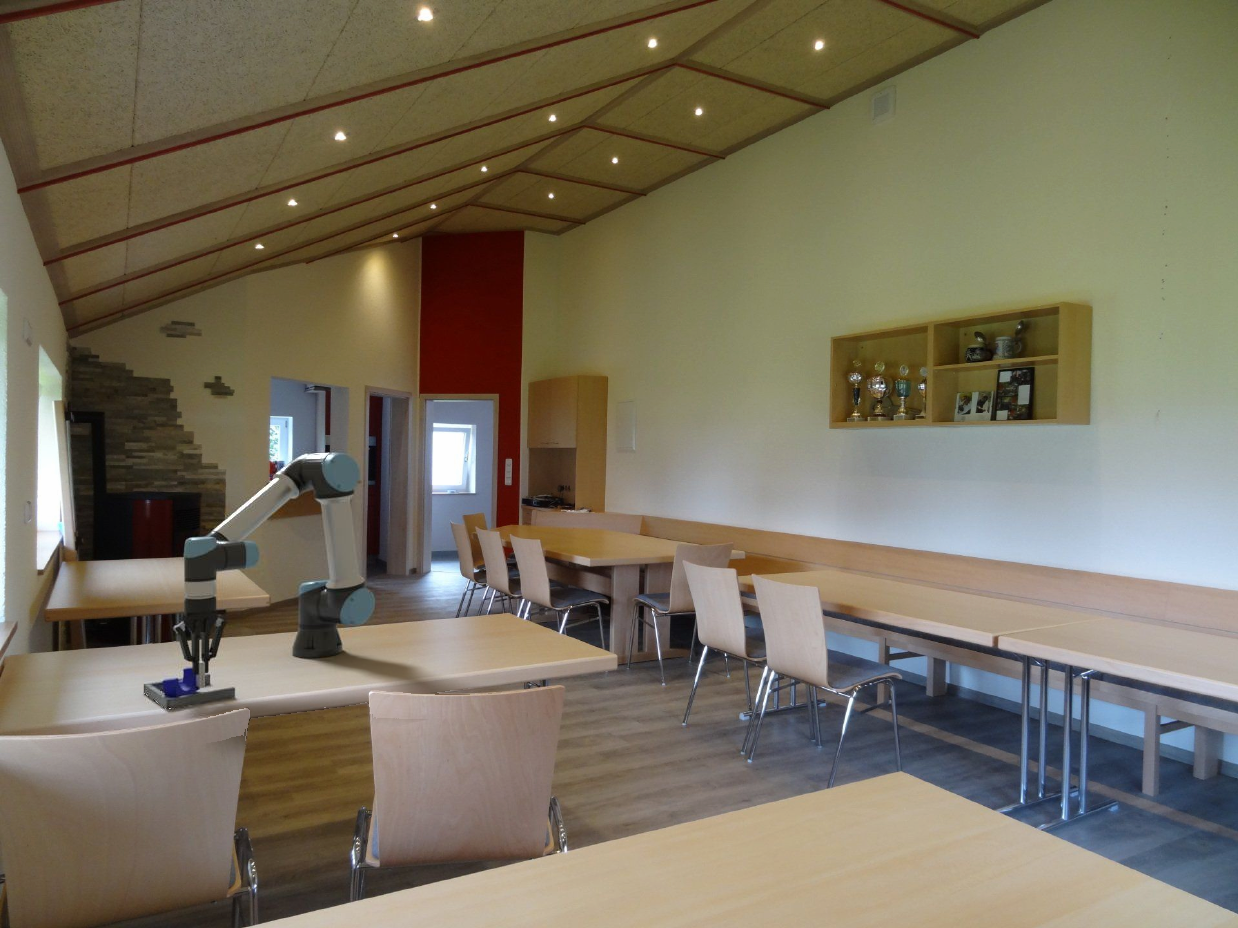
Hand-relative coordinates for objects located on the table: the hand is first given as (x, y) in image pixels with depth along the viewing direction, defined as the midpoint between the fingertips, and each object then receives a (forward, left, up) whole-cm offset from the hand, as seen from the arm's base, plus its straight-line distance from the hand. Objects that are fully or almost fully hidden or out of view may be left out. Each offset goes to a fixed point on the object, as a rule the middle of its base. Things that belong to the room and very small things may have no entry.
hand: (200, 686), depth 214 cm
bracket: (+3, 0, -2) cm, 3 cm away
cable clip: (+5, 0, -2) cm, 5 cm away
